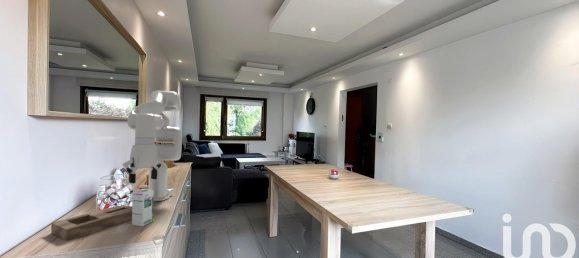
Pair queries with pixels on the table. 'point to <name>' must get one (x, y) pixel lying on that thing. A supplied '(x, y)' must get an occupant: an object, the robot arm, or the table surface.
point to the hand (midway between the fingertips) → (143, 180)
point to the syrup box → (142, 207)
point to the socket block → (91, 222)
